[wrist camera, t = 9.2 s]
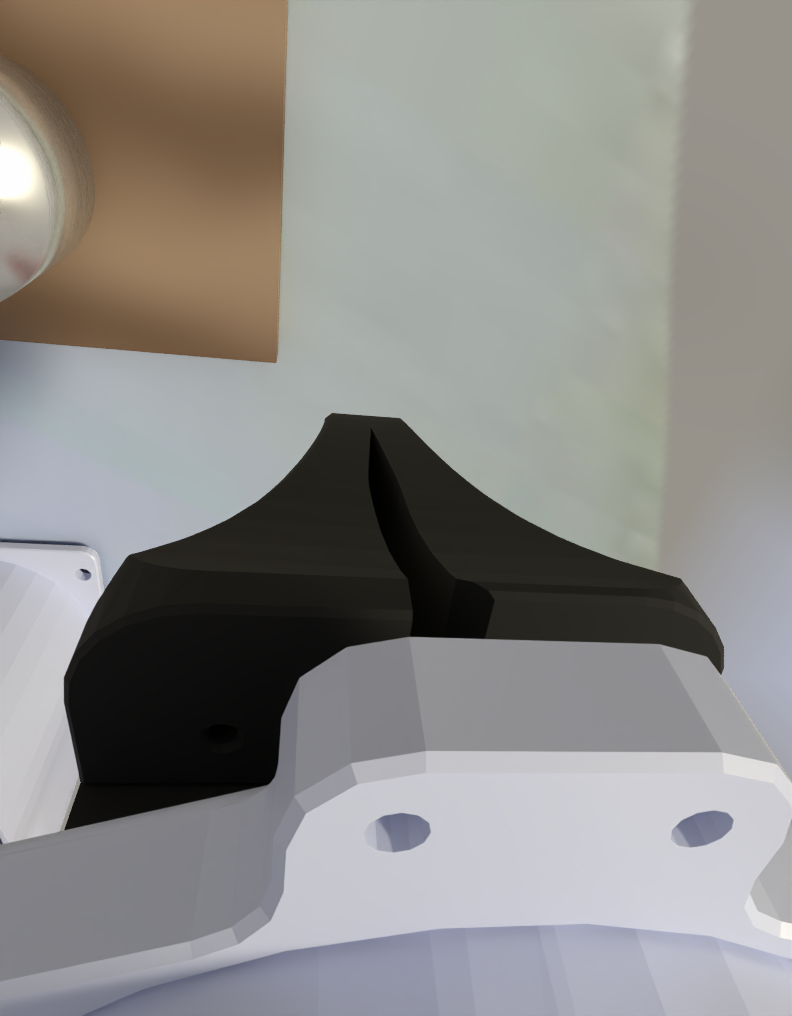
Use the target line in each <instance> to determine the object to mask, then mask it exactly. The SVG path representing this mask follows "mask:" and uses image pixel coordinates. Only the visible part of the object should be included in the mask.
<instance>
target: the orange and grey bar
mask: <svg viewBox="0 0 792 1016" xmlns="http://www.w3.org/2000/svg"><path fill="white" fill-rule="evenodd" d="M94 202H95V178H94V172H93V166H92V162H91V158H90V155H89V151H88V148H87V146H86V143H85V141H84V139H83V136H82V134H81V132H80V130H79V128H78V126H77V124H76V123H75V121H74V119H73V117H72V116H71V114H70V113H69V112H68V110H67V109H66V107H65V106H64V104H63V103H62V102H61V101H60V99H59V98H58V97H57V96H56V95H55V93H54V92H53V91H52V90H51V89H50V88H49V87H48V86H47V85H46V84H45V83H44V82H43V81H42V80H41V79H40V78H39V77H37V76H36V75H35V74H34V73H32V72H31V71H30V70H29V69H27V68H26V67H25V66H23V65H22V64H20V63H18V62H17V61H15V60H14V59H12V58H11V57H9V56H7V55H5V54H3V53H1V52H0V302H1V301H3V300H5V299H6V298H8V297H10V296H11V295H13V294H14V293H16V292H17V291H19V290H20V289H21V288H23V287H24V286H26V285H27V284H28V283H30V282H31V281H33V280H34V279H35V278H37V277H38V276H40V275H41V274H43V273H44V272H45V271H47V270H48V269H50V268H51V267H52V266H54V265H55V264H57V263H58V262H59V261H61V260H62V259H64V258H65V257H66V256H67V255H68V254H70V253H71V252H72V251H73V250H74V249H75V248H76V246H77V245H78V244H79V243H80V241H81V240H82V238H83V236H84V235H85V233H86V231H87V229H88V226H89V224H90V221H91V218H92V214H93V210H94Z"/></svg>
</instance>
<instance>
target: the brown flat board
mask: <svg viewBox="0 0 792 1016" xmlns="http://www.w3.org/2000/svg"><path fill="white" fill-rule="evenodd" d="M287 20H288V0H0V52H1V53H3V54H5V55H7V56H9V57H11V58H12V59H14V60H15V61H17V62H18V63H20V64H22V65H23V66H25V67H26V68H27V69H29V70H30V71H31V72H32V73H34V74H35V75H36V76H37V77H39V78H40V79H41V80H42V81H43V82H44V83H45V84H46V85H47V86H48V87H49V88H50V89H51V90H52V91H53V92H54V93H55V95H56V96H57V97H58V98H59V99H60V101H61V102H62V103H63V104H64V106H65V107H66V109H67V110H68V112H69V113H70V114H71V116H72V117H73V119H74V121H75V123H76V124H77V126H78V128H79V130H80V132H81V134H82V136H83V139H84V141H85V143H86V146H87V148H88V151H89V155H90V158H91V162H92V166H93V172H94V178H95V202H94V210H93V214H92V218H91V221H90V224H89V226H88V229H87V231H86V233H85V235H84V236H83V238H82V240H81V241H80V243H79V244H78V245H77V246H76V248H75V249H74V250H73V251H72V252H71V253H70V254H68V255H67V256H66V257H65V258H64V259H62V260H61V261H59V262H58V263H57V264H55V265H54V266H52V267H51V268H50V269H48V270H47V271H45V272H44V273H43V274H41V275H40V276H38V277H37V278H35V279H34V280H33V281H31V282H30V283H28V284H27V285H26V286H24V287H23V288H21V289H20V290H19V291H17V292H16V293H14V294H13V295H11V296H10V297H8V298H6V299H5V300H3V301H1V302H0V340H10V341H22V342H34V343H46V344H57V345H69V346H81V347H93V348H105V349H117V350H128V351H140V352H152V353H164V354H176V355H188V356H200V357H211V358H223V359H235V360H247V361H259V362H271V363H276V361H277V355H278V330H279V296H280V261H281V227H282V192H283V158H284V124H285V89H286V55H287Z"/></svg>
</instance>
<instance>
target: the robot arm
mask: <svg viewBox="0 0 792 1016" xmlns="http://www.w3.org/2000/svg"><path fill="white" fill-rule="evenodd" d="M80 569H86V570H88V571H89V572H90V573H88V574H87V573H83V572H82V571H81V570H80ZM723 669H724V646H723V644H722V642H721V639H720V637H719V635H718V632H717V630H716V628H715V626H714V625H713V624H712V622H711V621H710V619H709V618H708V616H707V615H706V613H705V612H704V611H703V609H702V608H701V606H700V605H699V603H698V602H697V601H696V599H695V598H694V596H693V595H692V594H691V592H690V591H689V589H688V588H687V586H686V585H685V584H684V583H683V581H682V580H681V579H680V578H677V577H673V576H670V575H666V574H663V573H660V572H656V571H653V570H649V569H646V568H642V567H639V566H636V565H632V564H629V563H625V562H622V561H619V560H616V559H613V558H610V557H607V556H605V555H602V554H600V553H597V552H594V551H592V550H589V549H586V548H584V547H581V546H579V545H576V544H574V543H572V542H569V541H567V540H565V539H562V538H560V537H558V536H556V535H554V534H552V533H550V532H548V531H546V530H544V529H542V528H540V527H538V526H536V525H534V524H532V523H530V522H528V521H526V520H525V519H523V518H521V517H519V516H517V515H516V514H514V513H512V512H511V511H509V510H508V509H506V508H505V507H503V506H501V505H500V504H498V503H497V502H495V501H494V500H492V499H490V498H489V497H488V496H486V495H485V494H483V493H482V492H481V491H479V490H478V489H477V488H475V487H474V486H473V485H472V484H470V483H469V482H468V481H467V480H465V479H464V478H463V477H462V476H460V475H459V474H458V473H457V472H456V471H454V470H453V469H452V468H451V467H450V466H449V465H448V464H446V463H445V462H444V461H443V460H442V459H441V458H440V457H439V456H438V455H437V454H436V453H435V452H434V451H433V450H432V449H431V448H430V447H429V446H427V445H426V444H425V442H424V441H423V440H422V439H421V438H420V437H419V436H418V435H417V434H416V433H415V432H414V431H413V430H412V429H411V428H410V427H409V426H408V425H407V424H406V423H405V422H404V421H403V420H401V419H400V418H390V417H376V416H363V415H350V414H336V413H331V414H330V415H329V416H328V417H326V418H325V422H324V425H323V427H322V429H321V431H320V433H319V435H318V436H317V438H316V440H315V441H314V443H313V444H312V445H311V447H310V448H309V450H308V451H307V452H306V454H305V455H304V456H303V458H302V459H301V460H300V461H299V462H298V464H297V465H296V466H295V467H294V468H293V469H292V470H291V471H290V472H289V473H288V475H287V476H286V477H285V478H284V479H283V480H282V481H281V482H280V483H279V484H278V485H276V486H275V487H274V488H273V489H272V490H271V491H270V492H269V493H267V494H266V495H265V496H264V497H262V498H261V499H260V500H259V501H257V502H256V503H254V504H253V505H251V506H249V507H248V508H246V509H244V510H243V511H241V512H240V513H238V514H236V515H235V516H233V517H231V518H230V519H228V520H226V521H224V522H222V523H220V524H218V525H215V526H213V527H211V528H209V529H207V530H204V531H202V532H200V533H197V534H195V535H192V536H190V537H187V538H184V539H182V540H179V541H175V542H172V543H169V544H166V545H162V546H159V547H156V548H152V549H149V550H146V551H142V552H139V553H135V554H131V555H129V556H128V557H127V558H126V559H125V561H124V562H123V564H122V565H121V567H120V568H119V570H118V571H117V572H116V574H115V575H114V577H113V578H112V580H111V581H110V583H109V584H108V586H107V588H106V589H105V591H104V586H103V579H102V572H101V565H100V558H99V556H98V553H97V552H96V551H95V550H93V549H91V548H90V547H86V546H73V545H51V544H29V543H6V542H0V1016H792V781H791V780H790V778H789V777H788V776H787V774H786V772H785V771H784V769H783V768H782V766H781V765H780V763H779V762H778V760H777V759H776V757H775V756H774V754H773V752H772V751H771V749H770V748H769V746H768V745H767V743H766V742H765V740H764V739H763V737H762V736H761V734H760V733H759V731H758V730H757V728H756V727H755V725H754V723H753V722H752V720H751V719H750V717H749V716H748V714H747V713H746V711H745V710H744V708H743V707H742V705H741V704H740V702H739V701H738V699H737V698H736V696H735V695H734V693H733V691H732V690H731V688H730V687H729V685H728V684H727V683H726V681H725V680H724V679H723V677H722V676H721V674H722V671H723ZM78 777H79V778H80V782H81V783H80V786H79V789H78V792H77V795H76V798H75V801H74V803H73V806H72V810H71V812H70V815H69V818H68V821H67V824H66V827H65V830H64V831H60V828H61V826H62V823H63V820H64V817H65V814H66V812H67V809H68V806H69V803H70V800H71V797H72V794H73V792H74V789H75V786H76V783H77V780H78Z"/></svg>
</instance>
